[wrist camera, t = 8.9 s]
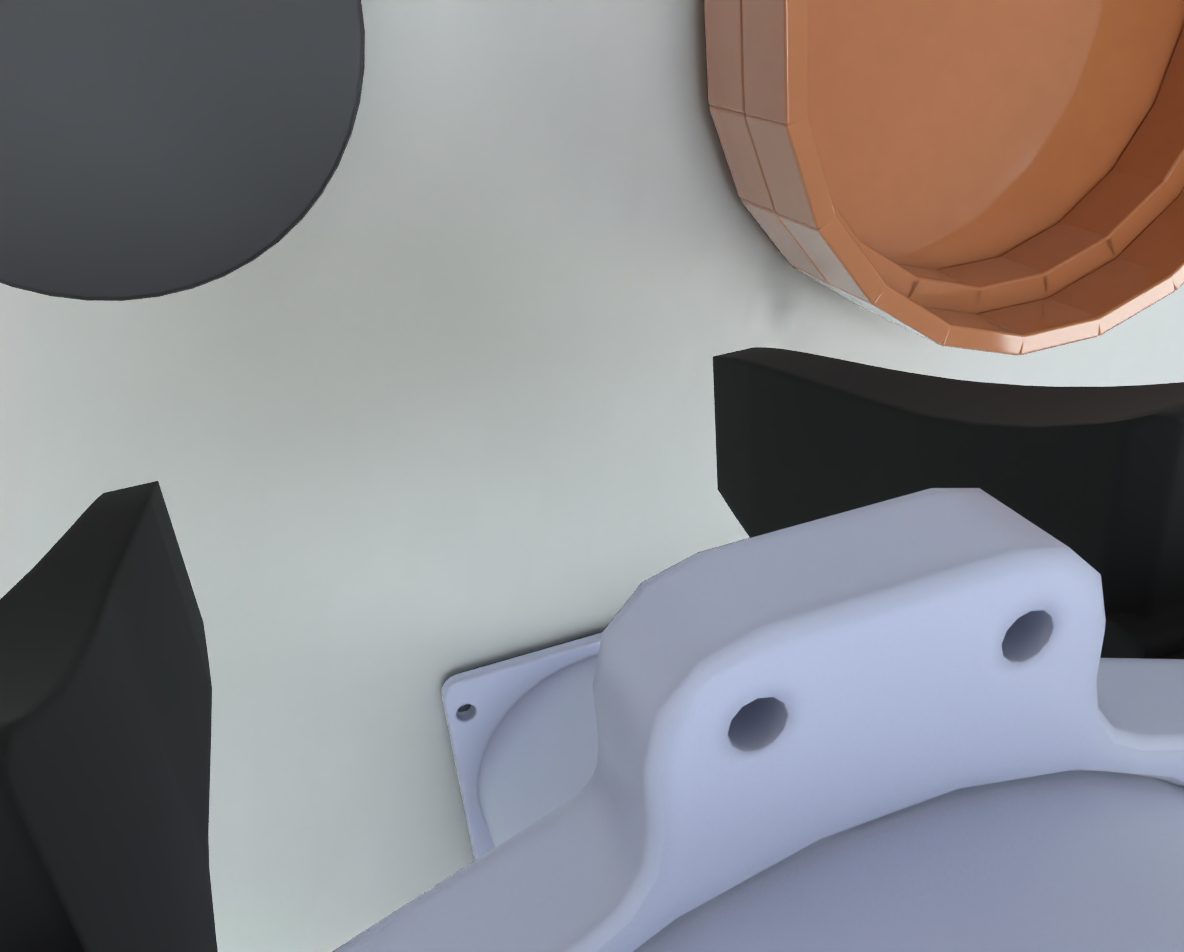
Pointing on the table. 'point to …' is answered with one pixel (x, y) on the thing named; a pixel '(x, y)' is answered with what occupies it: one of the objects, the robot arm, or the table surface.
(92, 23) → the cap
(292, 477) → the table surface
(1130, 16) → the round terracotta dish
